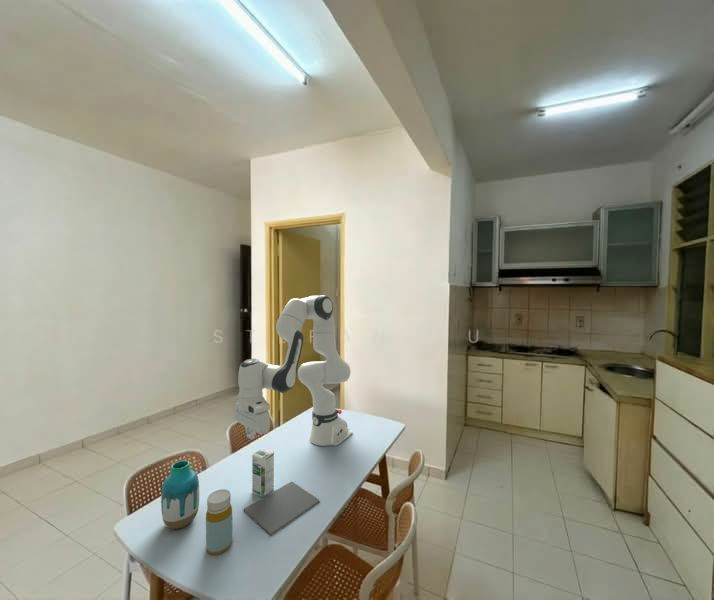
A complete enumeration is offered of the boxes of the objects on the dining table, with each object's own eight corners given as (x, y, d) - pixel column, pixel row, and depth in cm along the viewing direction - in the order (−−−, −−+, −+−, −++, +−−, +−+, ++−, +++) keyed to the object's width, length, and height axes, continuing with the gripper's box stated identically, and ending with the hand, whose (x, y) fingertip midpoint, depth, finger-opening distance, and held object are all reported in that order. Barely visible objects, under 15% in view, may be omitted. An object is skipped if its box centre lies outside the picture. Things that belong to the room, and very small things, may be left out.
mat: (291, 482, 120) (291, 481, 120) (319, 501, 110) (319, 500, 110) (243, 510, 105) (243, 508, 105) (270, 535, 95) (270, 533, 95)
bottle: (202, 545, 91) (202, 495, 90) (226, 532, 96) (226, 485, 95) (211, 560, 86) (210, 508, 85) (236, 546, 91) (235, 496, 90)
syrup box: (251, 493, 114) (251, 454, 113) (263, 484, 119) (263, 447, 119) (263, 498, 111) (262, 458, 111) (274, 488, 117) (274, 451, 116)
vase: (156, 539, 93) (155, 477, 92) (167, 514, 103) (166, 458, 102) (195, 531, 96) (194, 471, 95) (202, 508, 106) (201, 453, 105)
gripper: (229, 398, 124) (229, 432, 124) (257, 411, 110) (257, 449, 111) (244, 394, 129) (244, 427, 129) (272, 406, 115) (272, 443, 115)
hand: (250, 437), depth 120 cm, fingers closed
